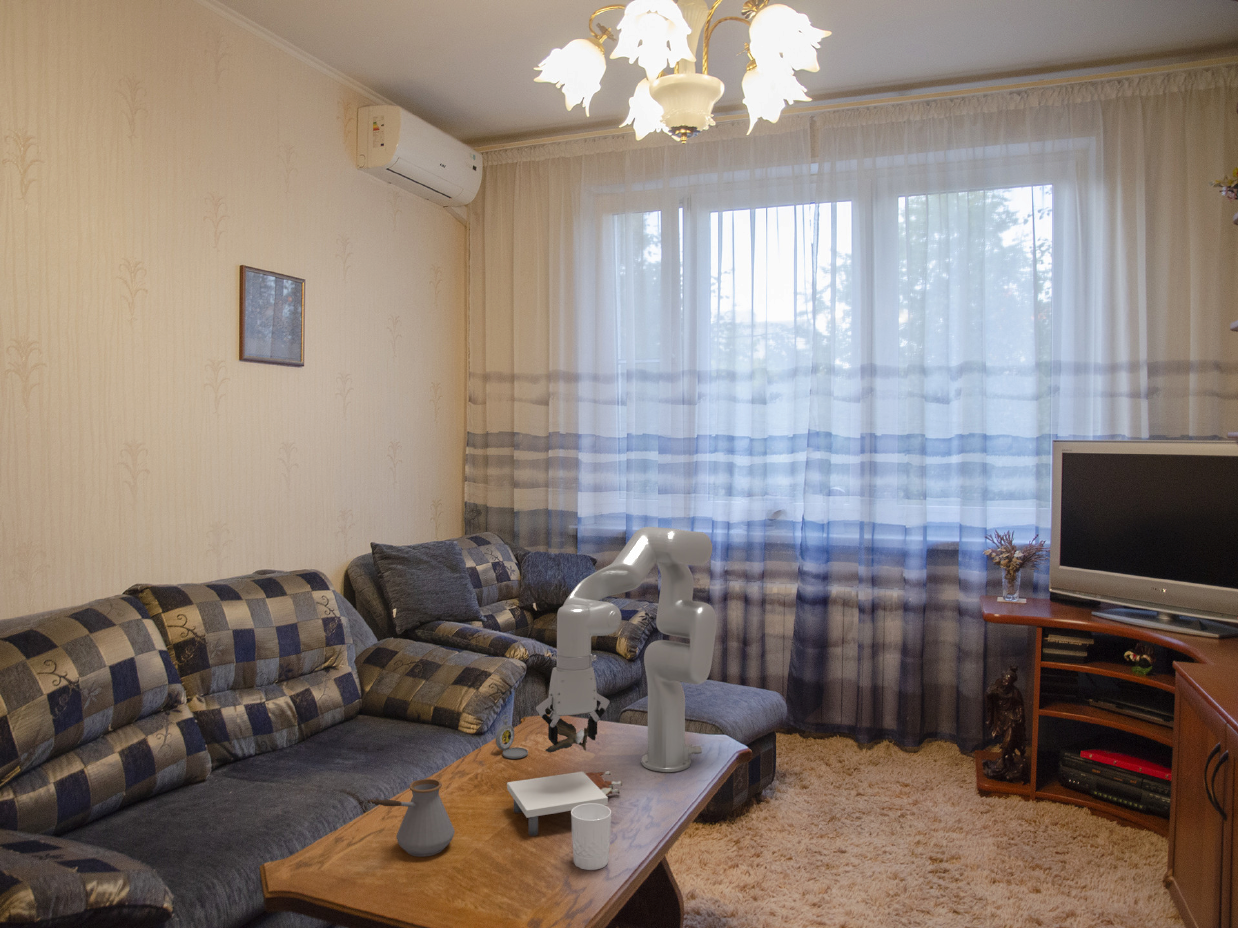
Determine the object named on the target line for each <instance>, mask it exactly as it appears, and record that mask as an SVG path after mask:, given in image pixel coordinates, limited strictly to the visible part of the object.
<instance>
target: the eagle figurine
mask: <svg viewBox="0 0 1238 928" xmlns="http://www.w3.org/2000/svg"><path fill="white" fill-rule="evenodd" d="M556 726H557V727H558V736H563V737H566V738H563V739H562V740H558V744H557V745H554V744H552V745H550V746H548V747H547V748H545V752H547V753H550V754H551V753H554V752H556V751H560V750H562V749H568V748H571V747H572V746H573V744H576V745H578V746H581V747H582V749H583V750H584V751H586V750H587V746H586V745H587V743H588V730H589V725H588V724H587V726H586V727H584V728H583V729H582V728H581V729H580V730H579V731H577V728H576V726H574V724H573V723H569V722H567V721H565V720H563V719H562V718H560V719H559V720H558V722H557V723H556Z"/></svg>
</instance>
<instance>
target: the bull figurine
mask: <svg viewBox="0 0 1238 928" xmlns="http://www.w3.org/2000/svg"><path fill="white" fill-rule="evenodd" d="M585 774H586V775H587V776H588V777H589V778H590V779H591V780H592V782H593V783H594V784H595V785H596V786H597V787H598V788H599V789H600V790H601V791H602V792H603V793H604V794H605V795H606V796H607V797H608V796H609V795H612V794H614V793H616V794H618V795H619V794H620V793H621V791H620V789H618V788H615V789H613V788H614V786H623V781H622V780H621V781H620V780H619V781H614V780H613V781H611V780H605V779H604V777H603V776H604V775H605V776H611V774H612V772H611V770H610V771H600V772H595V771H593V772H592V771H591V772H586V773H585Z"/></svg>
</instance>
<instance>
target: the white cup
mask: <svg viewBox="0 0 1238 928" xmlns="http://www.w3.org/2000/svg"><path fill="white" fill-rule="evenodd" d="M570 821H571V822H570V823H571V839H572V840H571V841H572V851H573V863H574V865H575V867H577V868H579V869H581V870H586V871H596V870H600V869H603V868H605V867H606V866H607V865H608V863H609V852H610V851H609V850H610V842H611V828H612V827H611V826H612V825H611V824H612V809H611V808H610V807H609V806H608V805H601V804H595V803H588V804H582V805H578V806H576V807H574V808H573V809H572V810H571V811H570Z"/></svg>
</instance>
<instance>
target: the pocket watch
mask: <svg viewBox="0 0 1238 928" xmlns="http://www.w3.org/2000/svg"><path fill="white" fill-rule="evenodd" d="M504 717H507V718H505V719H503V718H504ZM508 720H509V716H508V715H507V714H504V715H502V717H501V721H502V722H504V724H503V725H501V726H500V727H499V729H498V730H497V732H496V736H495V744H496V747H497V748H498V749H499V750H502V756H503V757H504V758H507V759H512V760H515V759H516V760H517V759H521V758H525V757H527V756H528V755H529V751H528V749H526V748H524V747H511V746H512V744H513V742H514V739H515V728H514V726H513V725H512V724H509V723H507V722H508Z"/></svg>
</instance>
